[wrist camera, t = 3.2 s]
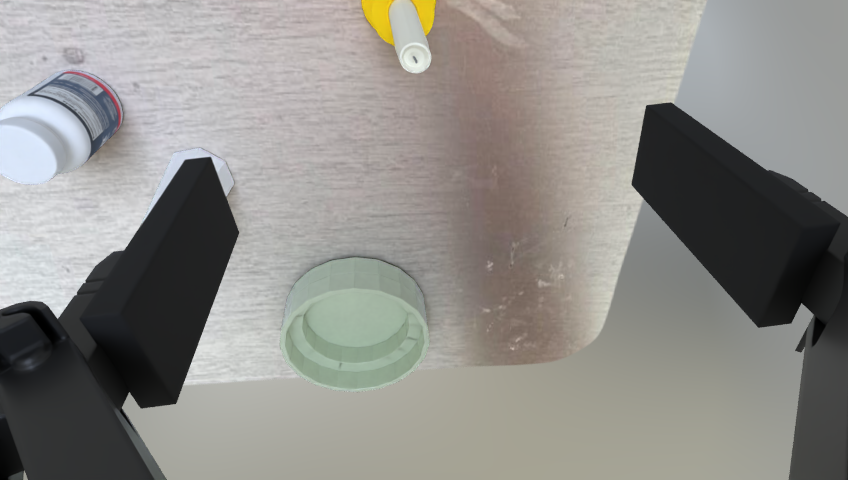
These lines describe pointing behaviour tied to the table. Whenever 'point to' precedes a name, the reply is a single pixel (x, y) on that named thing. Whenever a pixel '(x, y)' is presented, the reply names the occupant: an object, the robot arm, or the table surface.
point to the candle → (404, 28)
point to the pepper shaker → (177, 161)
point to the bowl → (354, 325)
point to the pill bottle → (56, 126)
